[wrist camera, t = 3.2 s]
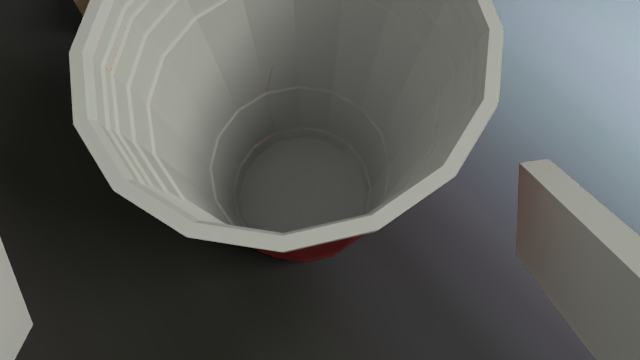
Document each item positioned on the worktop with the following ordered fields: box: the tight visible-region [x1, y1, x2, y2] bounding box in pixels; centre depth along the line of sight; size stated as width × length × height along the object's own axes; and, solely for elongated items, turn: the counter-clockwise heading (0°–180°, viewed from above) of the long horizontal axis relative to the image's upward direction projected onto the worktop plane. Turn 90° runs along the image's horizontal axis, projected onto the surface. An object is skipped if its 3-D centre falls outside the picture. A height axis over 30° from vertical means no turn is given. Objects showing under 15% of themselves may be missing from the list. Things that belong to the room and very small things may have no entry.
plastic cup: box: [69, 0, 504, 263], centre depth 20 cm, size 11×11×12 cm
